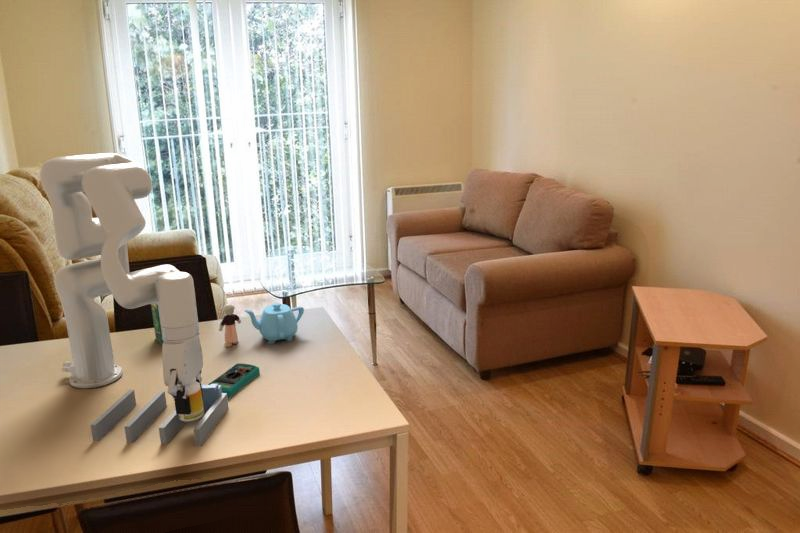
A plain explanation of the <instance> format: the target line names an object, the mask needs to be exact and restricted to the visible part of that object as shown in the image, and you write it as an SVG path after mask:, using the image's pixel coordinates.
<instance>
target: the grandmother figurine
mask: <svg viewBox="0 0 800 533" xmlns="http://www.w3.org/2000/svg"><path fill="white" fill-rule="evenodd" d="M222 309H223V312H224V313H225V315H224V316H223V318H222V320H221V321H220V324H219V328H218V331H219V332H222V331H223V328H224V344H223V345H224V347H227V348H228V347H232V346H233V345H237V344H239V338H238V333H237V329H236V328H237V327H236V322H237V324H241V323H242V320H240V316H239V315H237V314H235V310H236V307H235V305H234V304H232V303H227V304H225V305H224V306H223V308H222Z"/></svg>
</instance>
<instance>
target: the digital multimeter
mask: <svg viewBox="0 0 800 533" xmlns="http://www.w3.org/2000/svg"><path fill="white" fill-rule="evenodd" d="M259 375H260V367H259V366H256V365H253V364H249V363H236V364H234V365H233V366H231V367H230V368H228V370H226V371H225V372H224V373H222V374H221V375H220V376H217V377H216V378H215V379H214V380H212V381H211V382H209V383H208V384H207V385H211V384H218V385H221V388H222V393H227V399H228V398H231V397H233V396H234V395H235V394H236V393H237V392H239V391H240V390H241V389H242V388H244V387H245V386H246V385H247V384H248V383H250V382H251V381H252V380H254V379H255V378H256V377H258V376H259Z"/></svg>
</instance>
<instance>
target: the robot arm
mask: <svg viewBox="0 0 800 533" xmlns="http://www.w3.org/2000/svg"><path fill="white" fill-rule="evenodd" d="M39 174H40V176H39V177H40V183H41V186H42V188H43V190H44V193H45V195H46V197H47V198H48V201H49V204H50V206H51V212H52V219H53V220H52V221H53V228H54V229H53V230H54V237H55V244H56V247H57V251H58V253H59V255H60V256H61V257H62V258H63V259H65V260H69V261H77V260H83V259H88V258H92V257H97V256H100V257H99V258H94V259H91V260H90V259H89V260H85V261H84V260H83V261H80V262H79V261H78V262H75V263H71V264H68V265H65V266H62V267H61V268H60V269H58V270H57V272H56V273H54V274H55V275H54V277H53V283H54V287H55V291H56V293H57V295H58V298H59V300H60V303H61V306H62V310H63V313H64V314H63V315H64V319H65V325H66V331H67V335H68V341H69V346H70V353H71V358H72V361H64V362H63V364H62V368H61V371H62V372H63V373H70V375H71V376H70V377H69V385H71V386H72V387H73V388H77V389H91V388H92V389H93V388H97V387H99V388H100V387H103V386H106V385H108V384H112V383H113V382H115V381H117V380H118V379H120V377H122V375H123V368H122V367H121V366H120V365H119V364H115V359H114V358H115V357H114V352H113V351H114V350H113V345H112V338H111V332H110V325H109V320H108V315H107V312H106V309H105V308H104V307H103V306H102V305H101V304H99V303H98V302H96V301H95V299H96V298H99V297H100V296H104V295H108V294H111V296H112V297H113V299H115V301H116V303H117V304H118V305H119V306H120V307H122V308H124V309H129V310H130V309H131V310H132V309H133V310H134V309H137V308H140V307H143V306H144V307H145V306H147V305H151V303H155V302H158V310H159V317H160V324H161V332H162V339H163V341H164V342H163V346H161V347H162V348H161V349H162V350H161V362H162V363H161V364H162V376H163V382H164V385H165V387H168V388H167V391H166V392H167V394H169V395H171V396H172V399H173V401H174V410H175V409H176V413H177V414H190V413H191V406H190V398H189V397H187V390H188V384H189V383H190V382H191V381H192V380H193V379H194V378H195V377H196V382H198V383H199V384H200V387H201V394H202V399H203V393H202V385H203V384H202V381H203V379H202V372H203V368H204V358H203V357H204V356H203V350H202V344H201V339H200V326H199V318H198V310H197V309H198V308H197V301H196V291H195V284H194V278H193V276H192V274H190V273H188V272H186V271H180V270H179V269H178V268H176V266H174V265H172V264H160V265H156V266H152V267H147V268H142V269H139V270H135V271H130V263H129V253H128V252H129V250H128V242H130V241H132V240H133V239H134V238H136V237H137V236H138V235H139V234H141V233H142V231H144V229H145V227H146V219H145V217H144V216H143V214H142V212H141V210H140V208H139V206H138V203H137V202H136V200H140V199H144V198H145V199H146V198H147V197H148V196H150V194H151V193H152V190H153V182H152V179H151V176H150V173H149V172H148V171H147V169H146V168H145V167H144V166H143V165H142V164H140V163H139V162H138V161H136V160H134V159H131V158H128V157H127V156H124V155H121V154H119V153H114V152H100V153H91V154H90V153H89V154H88V153H87V154H76V155H75V154H74V155H63V156H58V157H54V158H50V159H48V160H46V161H44V163H42V165H41V168H40V173H39ZM93 211H94V214H95V216H96V217H93ZM178 381H180V382H182V383H177V382H178ZM178 387H183V392H182V391H181V390H178Z"/></svg>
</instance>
